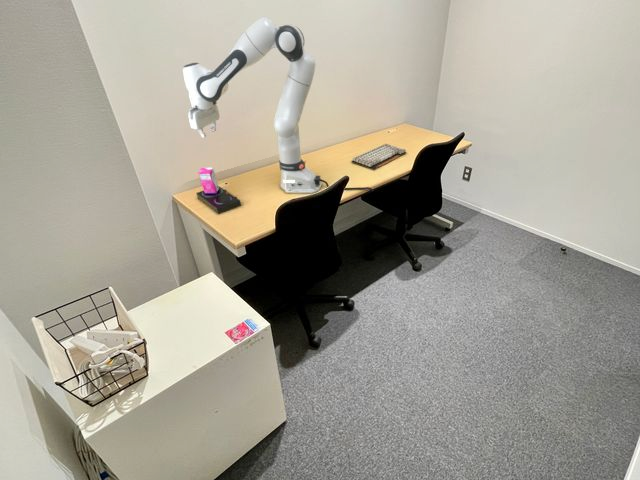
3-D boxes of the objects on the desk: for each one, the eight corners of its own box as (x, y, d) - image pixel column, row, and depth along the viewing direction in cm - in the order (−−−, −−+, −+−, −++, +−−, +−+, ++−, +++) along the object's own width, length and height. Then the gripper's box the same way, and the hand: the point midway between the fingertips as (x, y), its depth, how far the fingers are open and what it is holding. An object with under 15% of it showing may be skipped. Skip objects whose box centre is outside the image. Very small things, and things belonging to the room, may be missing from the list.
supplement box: (208, 188, 167) (201, 167, 160) (219, 188, 167) (213, 167, 160) (204, 194, 162) (197, 172, 155) (216, 194, 163) (210, 172, 155)
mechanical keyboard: (374, 170, 197) (374, 164, 195) (349, 162, 207) (349, 157, 205) (407, 153, 220) (407, 148, 218) (384, 147, 230) (384, 142, 228)
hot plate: (243, 204, 162) (241, 198, 160) (218, 214, 155) (216, 207, 153) (221, 190, 174) (219, 183, 172) (197, 198, 167) (195, 191, 164)
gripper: (194, 109, 145) (203, 141, 153) (218, 99, 160) (224, 128, 169) (181, 108, 145) (191, 140, 154) (206, 98, 161) (213, 127, 170)
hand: (208, 134), depth 162 cm, fingers open, 8 cm apart
